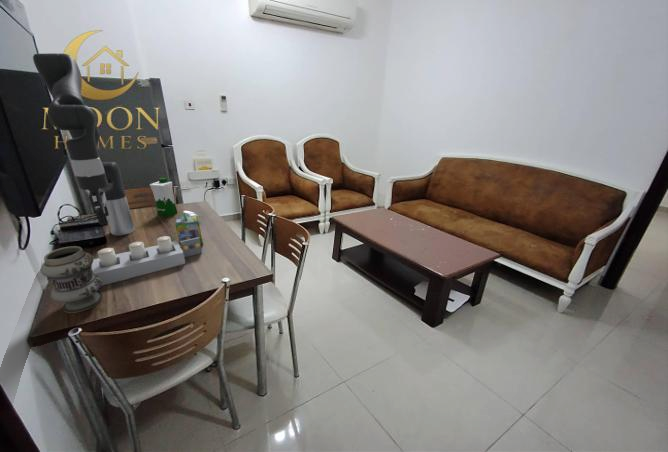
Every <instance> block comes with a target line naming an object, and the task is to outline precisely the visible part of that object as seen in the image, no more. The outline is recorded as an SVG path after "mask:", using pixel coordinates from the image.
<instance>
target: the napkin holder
mask: <svg viewBox="0 0 668 452" xmlns="http://www.w3.org/2000/svg"><path fill="white" fill-rule="evenodd" d="M181 212H182V214H183V212H184V213H185V215H186V216H194V215H197V216H198V221H199V225H201V221H200V215H198V214H196V213H195V212H194V211H193V212H192V211H189V210H184V211H181ZM182 217H184V216H183V215H182Z"/></svg>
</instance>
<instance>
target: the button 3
mask: <svg viewBox="0 0 668 452" xmlns="http://www.w3.org/2000/svg"><path fill="white" fill-rule="evenodd" d="M171 239H172V238H171V237H170V236H168V235H164V236H160V237H157V239H156V243H157V245H158V247H159V251H160V252H161V253H167V252H170V251H172V250H173V247H172V243H171V242H172V240H171Z"/></svg>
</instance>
